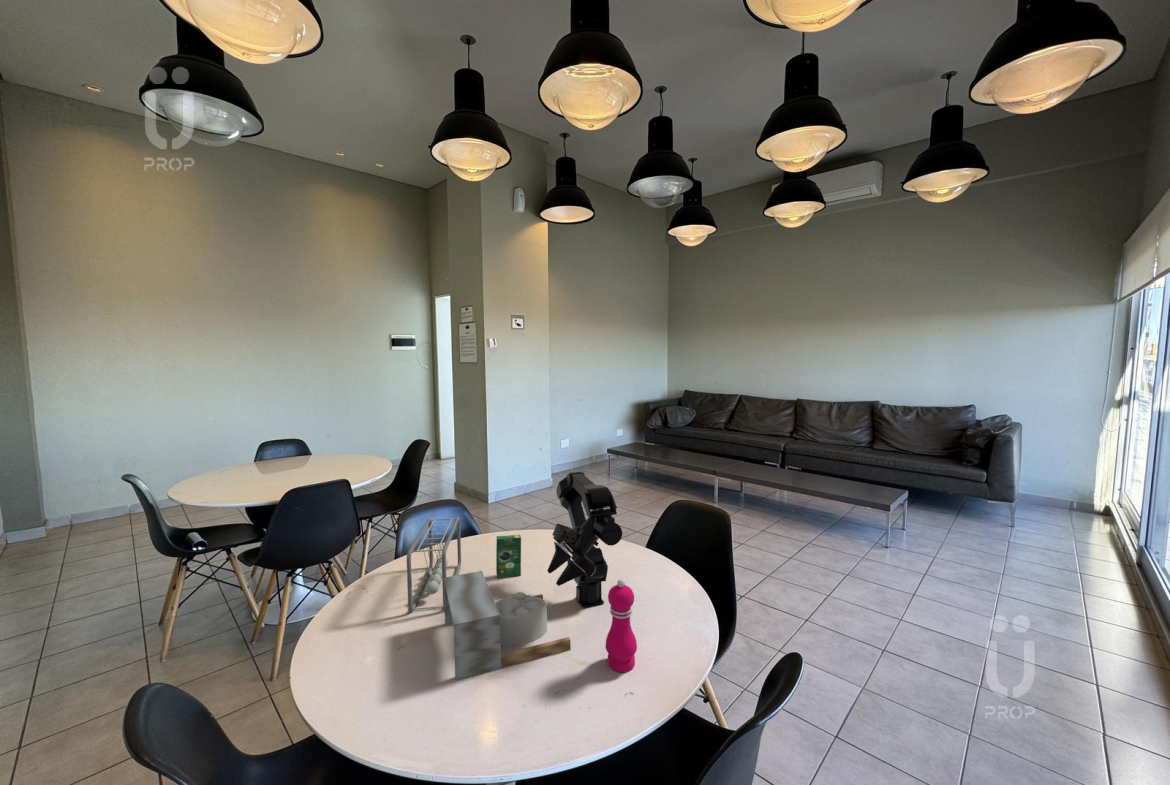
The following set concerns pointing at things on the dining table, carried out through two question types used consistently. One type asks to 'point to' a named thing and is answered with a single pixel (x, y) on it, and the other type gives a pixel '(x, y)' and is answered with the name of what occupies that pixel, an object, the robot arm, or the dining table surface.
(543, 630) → the grey animal paw
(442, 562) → the newton's cradle
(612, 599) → the pepper mill
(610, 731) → the dining table surface
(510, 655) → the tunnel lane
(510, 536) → the coffee box
